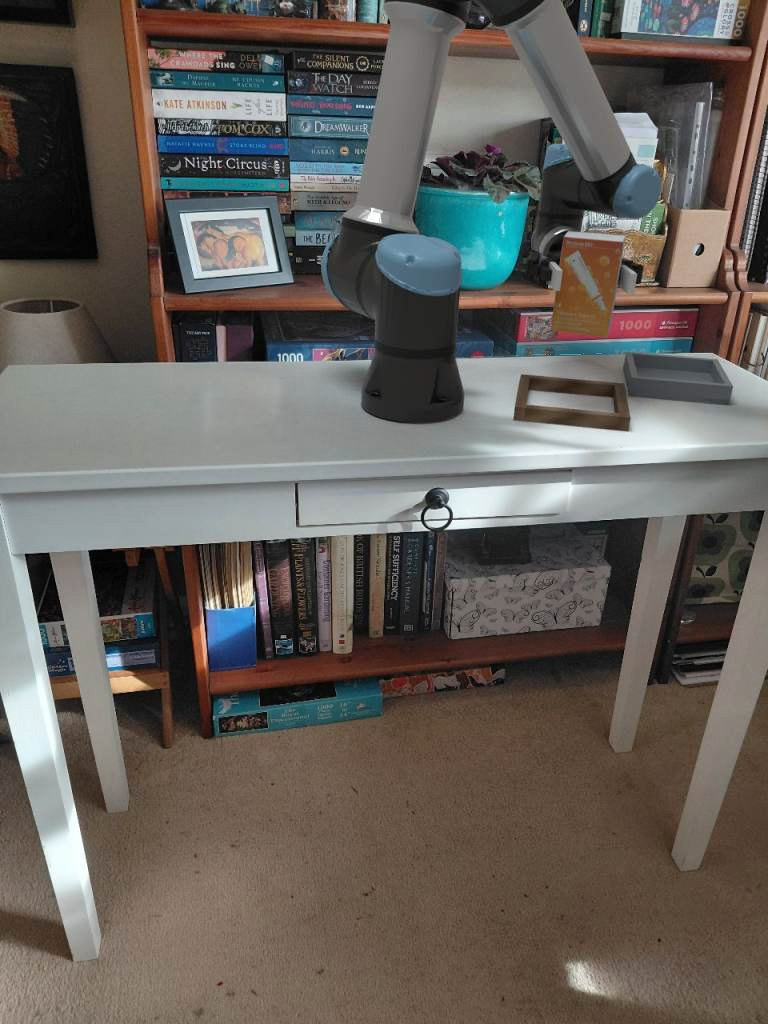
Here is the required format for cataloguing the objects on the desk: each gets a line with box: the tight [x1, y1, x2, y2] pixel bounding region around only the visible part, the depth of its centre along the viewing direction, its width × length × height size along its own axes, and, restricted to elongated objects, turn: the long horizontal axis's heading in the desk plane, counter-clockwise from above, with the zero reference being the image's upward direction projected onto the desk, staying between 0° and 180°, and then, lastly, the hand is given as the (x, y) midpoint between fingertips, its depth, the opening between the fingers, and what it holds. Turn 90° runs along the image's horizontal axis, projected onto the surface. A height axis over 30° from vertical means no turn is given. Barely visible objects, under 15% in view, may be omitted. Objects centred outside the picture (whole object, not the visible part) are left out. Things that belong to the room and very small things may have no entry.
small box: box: [550, 231, 627, 338], centre depth 115 cm, size 8×6×13 cm
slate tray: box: [622, 351, 734, 406], centre depth 133 cm, size 15×15×3 cm
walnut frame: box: [512, 373, 631, 432], centre depth 123 cm, size 16×16×2 cm
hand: (595, 282), depth 111 cm, fingers closed on small box, 9 cm apart
